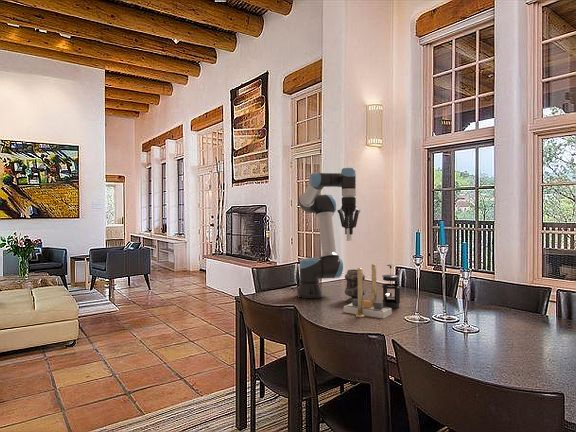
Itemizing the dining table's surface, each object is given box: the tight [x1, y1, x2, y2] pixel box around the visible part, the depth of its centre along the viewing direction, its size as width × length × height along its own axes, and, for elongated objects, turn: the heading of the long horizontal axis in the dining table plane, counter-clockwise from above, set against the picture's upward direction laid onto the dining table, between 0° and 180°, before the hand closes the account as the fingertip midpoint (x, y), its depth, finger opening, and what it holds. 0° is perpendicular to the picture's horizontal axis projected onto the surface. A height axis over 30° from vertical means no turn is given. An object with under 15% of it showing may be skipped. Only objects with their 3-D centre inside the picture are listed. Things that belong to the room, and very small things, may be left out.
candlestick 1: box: [355, 267, 366, 319], centre depth 208 cm, size 4×4×24 cm
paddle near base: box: [352, 299, 358, 306], centre depth 218 cm, size 4×2×3 cm, turn 53°
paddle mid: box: [363, 299, 372, 308], centre depth 214 cm, size 4×2×3 cm, turn 53°
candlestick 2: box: [371, 263, 377, 305], centre depth 220 cm, size 4×4×24 cm
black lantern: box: [381, 264, 401, 310], centre depth 226 cm, size 12×9×23 cm
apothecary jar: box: [343, 268, 366, 304], centre depth 242 cm, size 12×12×18 cm
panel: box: [343, 302, 393, 319], centre depth 214 cm, size 22×10×3 cm, turn 53°
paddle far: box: [374, 301, 383, 309], centre depth 211 cm, size 4×2×3 cm, turn 53°
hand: (349, 240), depth 225 cm, fingers closed
